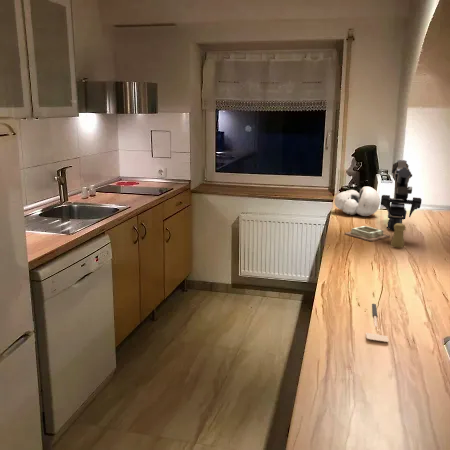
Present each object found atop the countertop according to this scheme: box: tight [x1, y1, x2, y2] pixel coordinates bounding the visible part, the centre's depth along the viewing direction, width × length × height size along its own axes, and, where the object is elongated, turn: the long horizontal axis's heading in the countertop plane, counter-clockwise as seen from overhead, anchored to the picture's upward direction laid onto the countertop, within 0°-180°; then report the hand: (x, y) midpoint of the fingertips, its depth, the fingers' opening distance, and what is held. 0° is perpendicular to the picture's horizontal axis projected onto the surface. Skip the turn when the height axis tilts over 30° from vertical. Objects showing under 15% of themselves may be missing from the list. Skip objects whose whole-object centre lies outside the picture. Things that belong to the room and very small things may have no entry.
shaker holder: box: [344, 225, 390, 242], centre depth 258 cm, size 16×16×3 cm
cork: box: [390, 223, 406, 249], centre depth 240 cm, size 6×6×11 cm
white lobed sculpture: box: [334, 186, 381, 217], centre depth 303 cm, size 20×25×22 cm
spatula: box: [365, 303, 389, 343], centre depth 157 cm, size 6×29×2 cm, turn 166°
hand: (399, 215), depth 245 cm, fingers open, 9 cm apart
